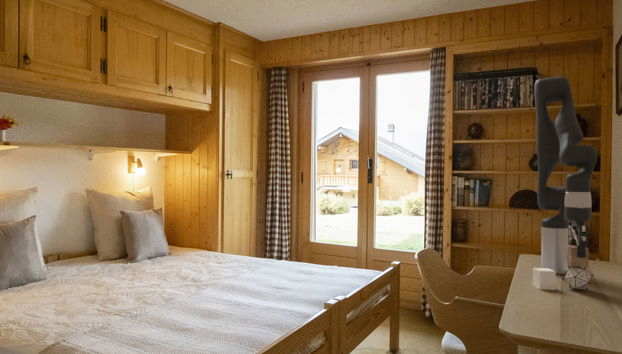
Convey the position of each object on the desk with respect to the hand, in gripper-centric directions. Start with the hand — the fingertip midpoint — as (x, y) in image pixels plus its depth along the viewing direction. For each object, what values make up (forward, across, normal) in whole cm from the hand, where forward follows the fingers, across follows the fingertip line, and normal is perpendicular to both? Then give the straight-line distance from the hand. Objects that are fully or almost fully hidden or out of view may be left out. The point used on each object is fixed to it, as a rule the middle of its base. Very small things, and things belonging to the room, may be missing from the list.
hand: (577, 255), depth 142 cm
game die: (+11, 0, 0) cm, 11 cm away
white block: (+11, +1, -10) cm, 15 cm away
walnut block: (+3, 0, 0) cm, 3 cm away
